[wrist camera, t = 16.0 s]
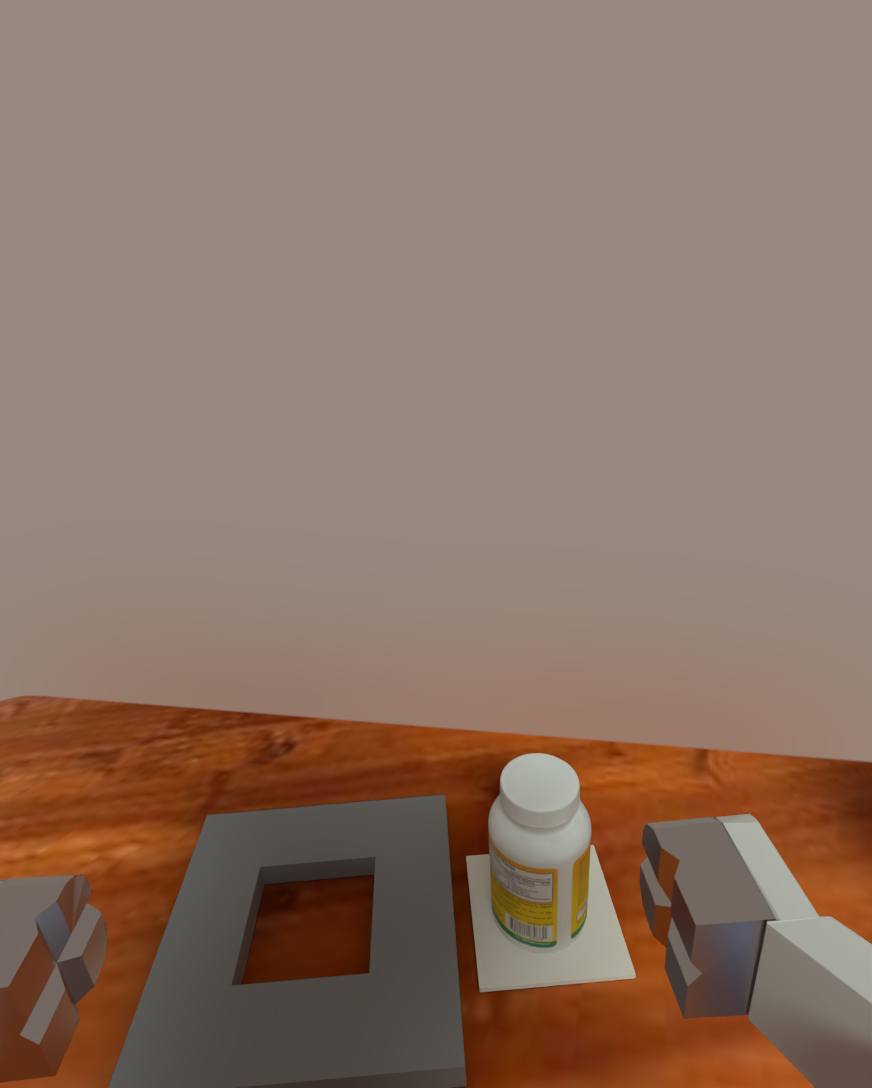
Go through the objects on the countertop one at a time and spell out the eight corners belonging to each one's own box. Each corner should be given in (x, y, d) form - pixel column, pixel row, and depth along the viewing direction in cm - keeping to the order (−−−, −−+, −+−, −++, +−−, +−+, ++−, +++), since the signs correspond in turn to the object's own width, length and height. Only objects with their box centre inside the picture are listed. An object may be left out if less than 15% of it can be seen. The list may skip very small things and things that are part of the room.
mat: (479, 992, 33) (479, 988, 33) (466, 859, 40) (465, 856, 40) (635, 978, 33) (635, 974, 33) (593, 848, 40) (593, 844, 40)
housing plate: (113, 1118, 29) (103, 1099, 28) (211, 831, 44) (206, 815, 43) (467, 1086, 29) (465, 1066, 28) (446, 810, 44) (445, 794, 43)
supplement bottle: (517, 973, 33) (513, 837, 29) (476, 888, 38) (468, 761, 34) (607, 935, 35) (614, 800, 31) (557, 857, 39) (558, 732, 36)
